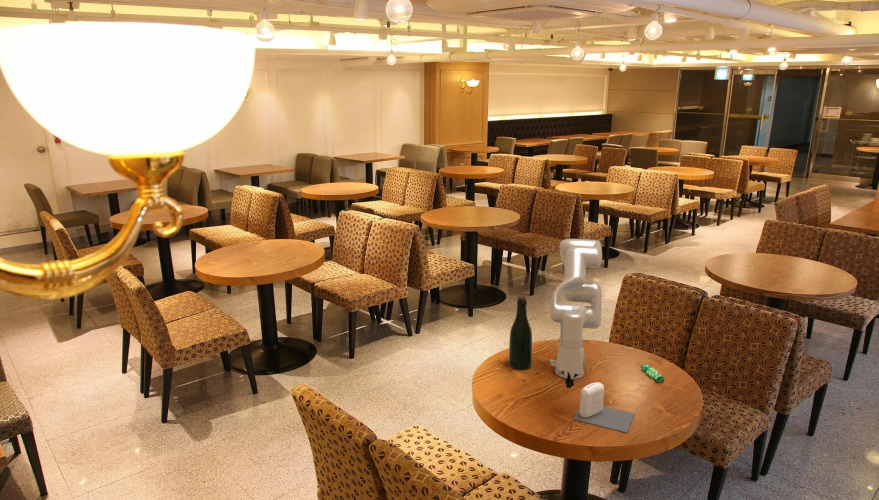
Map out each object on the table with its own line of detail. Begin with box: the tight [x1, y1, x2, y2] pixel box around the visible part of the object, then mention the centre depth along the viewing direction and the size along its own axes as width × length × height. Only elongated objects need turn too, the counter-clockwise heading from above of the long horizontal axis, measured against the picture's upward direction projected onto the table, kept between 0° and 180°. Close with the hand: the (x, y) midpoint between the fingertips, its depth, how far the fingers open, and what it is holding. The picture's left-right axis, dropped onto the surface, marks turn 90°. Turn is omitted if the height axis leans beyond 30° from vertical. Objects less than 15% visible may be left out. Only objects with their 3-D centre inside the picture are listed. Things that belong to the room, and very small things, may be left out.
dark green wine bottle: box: [508, 295, 533, 370], centre depth 263 cm, size 10×10×33 cm
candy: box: [640, 363, 665, 384], centre depth 255 cm, size 12×3×4 cm
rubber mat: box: [572, 405, 635, 434], centre depth 225 cm, size 20×14×1 cm
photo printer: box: [579, 381, 605, 418], centre depth 226 cm, size 10×4×12 cm, turn 123°
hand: (569, 386), depth 228 cm, fingers closed
